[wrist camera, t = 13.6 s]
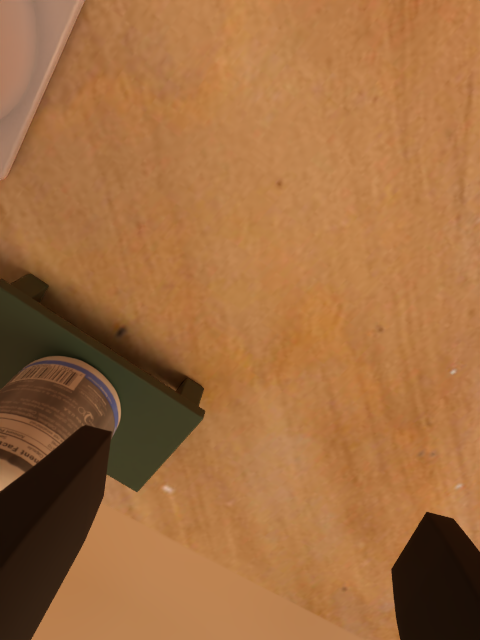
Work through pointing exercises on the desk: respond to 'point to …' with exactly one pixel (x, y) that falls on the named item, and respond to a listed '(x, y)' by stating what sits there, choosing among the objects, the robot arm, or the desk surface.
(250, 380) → the desk surface
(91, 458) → the robot arm
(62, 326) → the green footed tray
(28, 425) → the pill bottle
